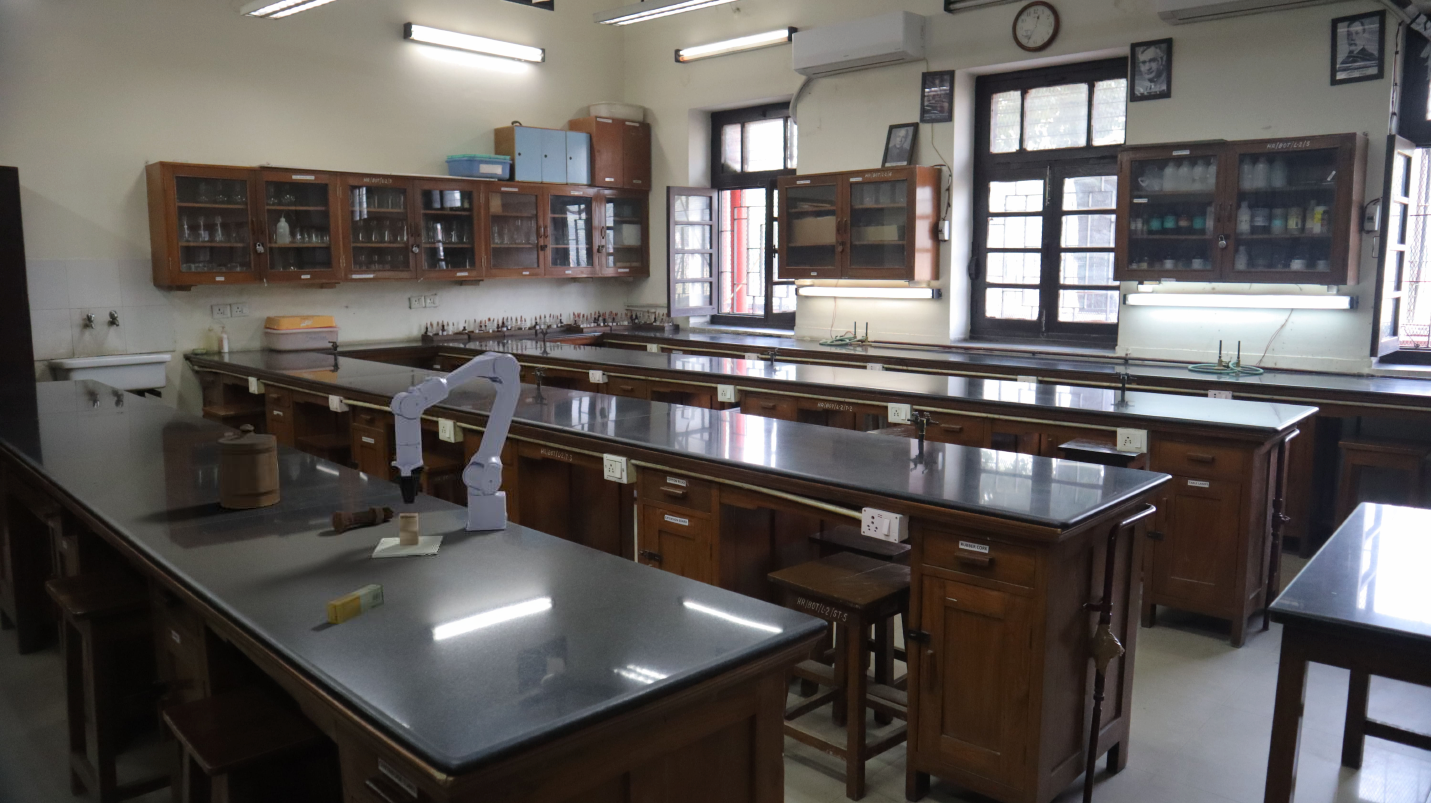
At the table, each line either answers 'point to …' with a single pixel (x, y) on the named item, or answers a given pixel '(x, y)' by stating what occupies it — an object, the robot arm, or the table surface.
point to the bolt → (360, 517)
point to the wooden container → (248, 470)
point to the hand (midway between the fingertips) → (411, 499)
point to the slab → (408, 529)
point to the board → (407, 547)
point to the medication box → (355, 603)
